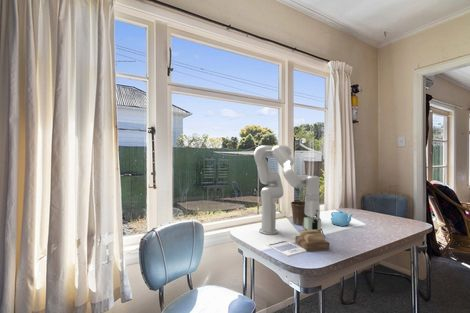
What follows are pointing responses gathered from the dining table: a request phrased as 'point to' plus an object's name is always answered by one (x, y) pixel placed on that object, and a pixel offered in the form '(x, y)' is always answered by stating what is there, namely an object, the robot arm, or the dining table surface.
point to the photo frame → (289, 252)
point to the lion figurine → (317, 230)
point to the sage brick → (309, 221)
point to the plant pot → (298, 212)
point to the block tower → (311, 240)
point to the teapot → (340, 218)
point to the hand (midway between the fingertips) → (312, 227)
